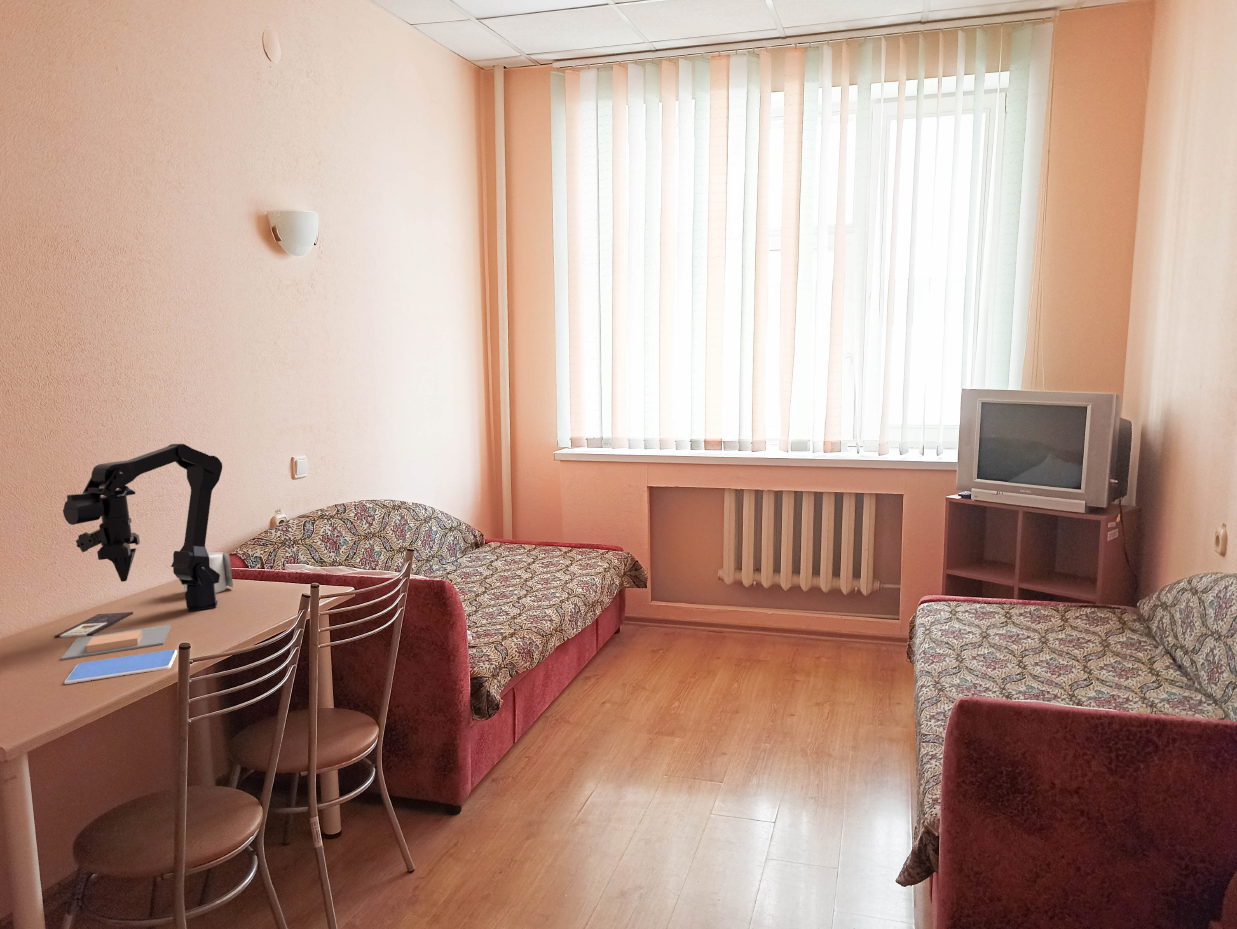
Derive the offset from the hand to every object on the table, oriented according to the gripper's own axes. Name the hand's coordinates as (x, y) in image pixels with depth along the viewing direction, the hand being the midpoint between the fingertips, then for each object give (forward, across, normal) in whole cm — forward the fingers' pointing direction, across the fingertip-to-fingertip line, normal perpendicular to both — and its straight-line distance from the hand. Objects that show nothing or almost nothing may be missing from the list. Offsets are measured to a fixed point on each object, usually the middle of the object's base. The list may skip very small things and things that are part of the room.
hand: (124, 581), depth 216 cm
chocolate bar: (+13, -10, -9) cm, 19 cm away
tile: (+11, +10, -1) cm, 15 cm away
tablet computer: (+13, +32, +3) cm, 34 cm away
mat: (+12, +10, -1) cm, 16 cm away
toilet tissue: (+12, -32, +15) cm, 37 cm away
